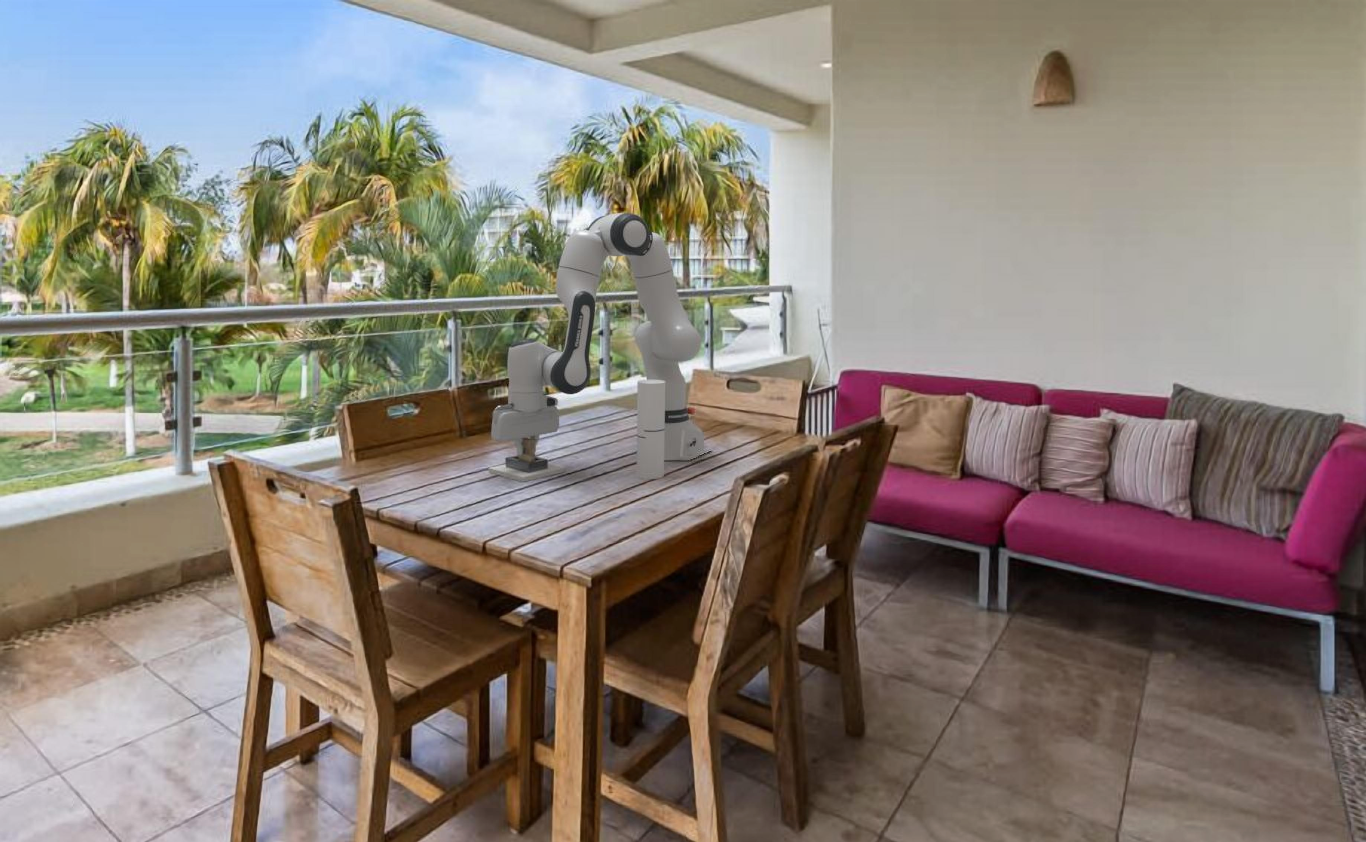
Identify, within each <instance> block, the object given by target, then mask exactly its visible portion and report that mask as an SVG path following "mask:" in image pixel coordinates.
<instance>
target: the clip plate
mask: <svg viewBox="0 0 1366 842" xmlns="http://www.w3.org/2000/svg"><path fill="white" fill-rule="evenodd" d="M488 473H489V474H493V475H497V476H500V477H504V478H507V479H512V480H515V481H518V482H521V483H524V482H528V481H533V480H537V479H540V478H541V479H542V478H545V477H550V476H554V475H557V474H562V473H565V467H563V466H561V465H560V466H559V465H556V464H551V463H548V469H544V470H540V471H535V472H531V473H527V472H523V471H519V470H516V469H512V468H508V467H506V463H504V464H500V465H495V466H492V467H488Z"/></svg>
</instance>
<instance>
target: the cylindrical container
mask: <svg viewBox="0 0 1366 842" xmlns="http://www.w3.org/2000/svg"><path fill="white" fill-rule="evenodd" d="M636 389H637V391H636V393H637V394H636V395H637V397H636V400H637V402H636V403H637V404H636V405H637V406H636V407H637V408H636V410H637V413H636V420H637V422H636V477H638V478H640V479H643V480H656V479H662V478H664V477H665V460H664V432H665V429H664V428H665V381H662V380H647V379H639V380H637V387H636Z"/></svg>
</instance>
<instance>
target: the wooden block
mask: <svg viewBox="0 0 1366 842" xmlns="http://www.w3.org/2000/svg"><path fill="white" fill-rule="evenodd" d="M521 445H522V447H523V448H526V451H525V452H526V454H524V455H518V454H517V455H518V459H519V460H523V461H527V462H532V461H535V456H536V452H535V440H534V439H530V437H527V438H522V442H521Z"/></svg>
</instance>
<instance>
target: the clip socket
mask: <svg viewBox="0 0 1366 842" xmlns="http://www.w3.org/2000/svg"><path fill="white" fill-rule="evenodd" d="M504 462H505V464H506V467H508V468H512V469H516V470H519V471H523V472H527V473H531V472H535V471H540V470H544V469H548V464H549V462H548V459H547V458H543V457H541V456H536V455H535V461H532V462H527V461H523V460H519V459H518V454H517V455H512V456H506V457H505V461H504Z"/></svg>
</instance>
